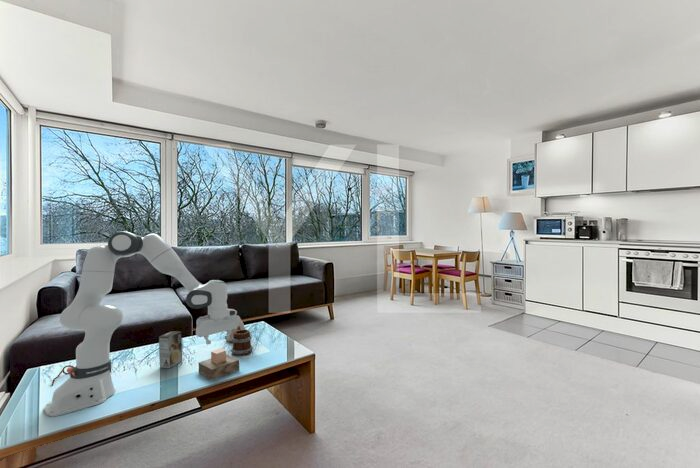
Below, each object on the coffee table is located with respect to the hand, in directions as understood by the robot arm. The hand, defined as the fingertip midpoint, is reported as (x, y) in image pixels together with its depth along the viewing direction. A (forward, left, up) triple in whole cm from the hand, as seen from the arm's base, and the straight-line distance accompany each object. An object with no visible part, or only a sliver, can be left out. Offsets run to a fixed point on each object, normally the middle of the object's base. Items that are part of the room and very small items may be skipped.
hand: (217, 341), depth 158 cm
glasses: (-45, +50, -16) cm, 70 cm away
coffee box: (-10, +29, -15) cm, 34 cm away
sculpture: (+32, +36, -15) cm, 50 cm away
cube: (+1, +1, -10) cm, 10 cm away
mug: (+22, +15, -15) cm, 30 cm away
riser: (+1, +1, -15) cm, 15 cm away
